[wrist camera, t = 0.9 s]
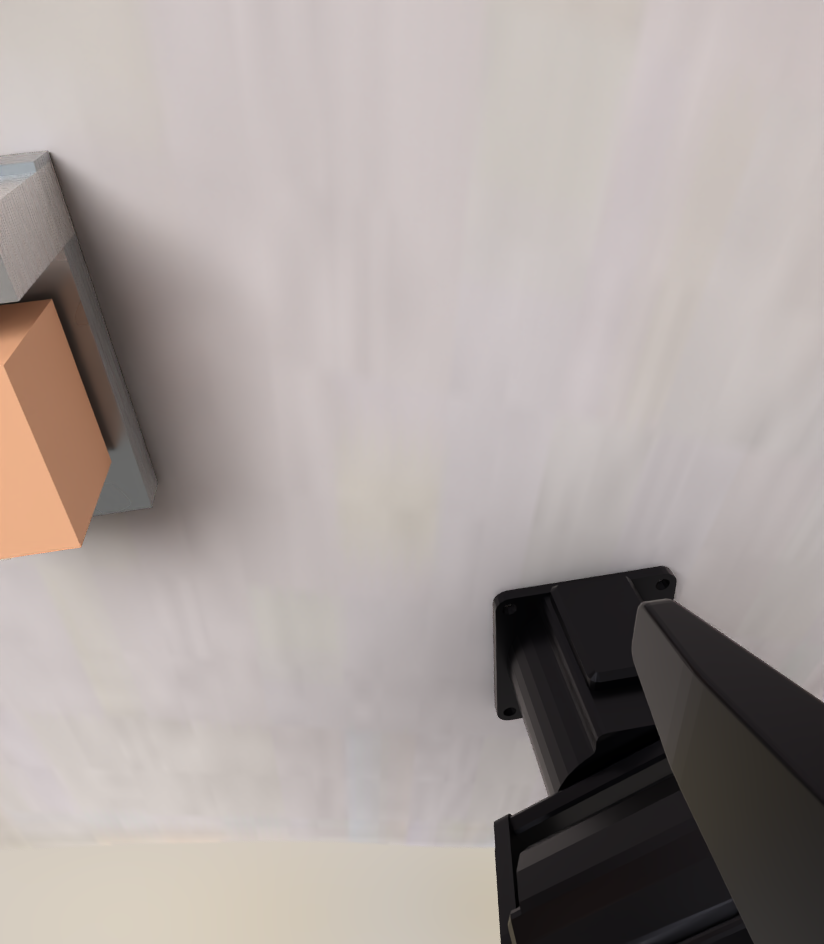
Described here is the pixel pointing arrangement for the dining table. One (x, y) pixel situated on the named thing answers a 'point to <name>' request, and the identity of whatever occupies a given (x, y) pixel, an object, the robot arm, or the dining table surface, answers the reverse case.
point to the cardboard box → (44, 436)
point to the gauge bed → (71, 316)
